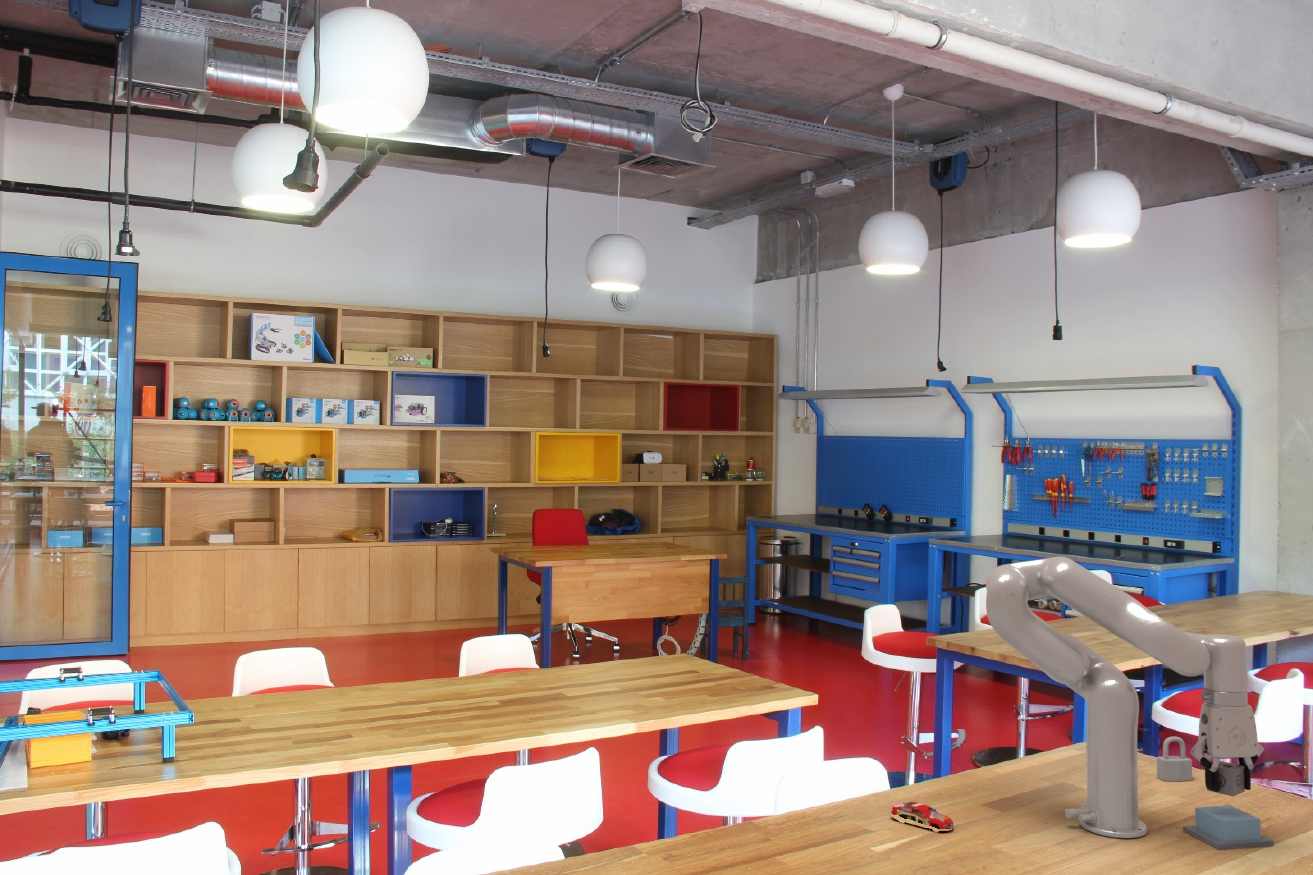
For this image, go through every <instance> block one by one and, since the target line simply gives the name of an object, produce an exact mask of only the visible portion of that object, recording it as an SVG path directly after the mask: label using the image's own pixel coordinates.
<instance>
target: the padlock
mask: <svg viewBox="0 0 1313 875" xmlns="http://www.w3.org/2000/svg"><path fill="white" fill-rule="evenodd" d="M1173 742H1177V743H1178V744H1179V753H1180V754H1179V756H1178V755H1169V746H1170V743H1173ZM1162 752H1163V753H1162V756H1156V777H1157V779H1160V780H1161V781H1164V782H1185V781H1186V782H1187V781H1189V782H1190V781H1192V780H1193V759H1191V758H1189V757H1187V756H1186V743H1185V741H1184V739H1183V738H1181V737H1179V736H1169V737H1167V738H1165V739H1164V741H1163V744H1162Z"/></svg>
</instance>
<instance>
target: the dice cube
mask: <svg viewBox="0 0 1313 875" xmlns="http://www.w3.org/2000/svg"><path fill="white" fill-rule="evenodd" d="M1216 771H1217V772H1219V779H1220V791H1219V792H1214V791H1212V790H1210V789H1207V788H1206V790H1207V791H1209V792H1212V793H1217V794H1221V795H1225V796H1230V797H1235V796H1238V795H1240V794H1243V793H1245V792H1246V789H1245V782H1244V766H1242V765H1239V764H1237V763H1232V762H1226V761H1224V760H1220V761H1219V764H1218V767H1217V770H1216Z"/></svg>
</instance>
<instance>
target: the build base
mask: <svg viewBox="0 0 1313 875" xmlns="http://www.w3.org/2000/svg"><path fill="white" fill-rule="evenodd" d="M1194 810H1195V811H1194V812H1195V815H1194V816H1195V817H1194V818H1195V819H1194V820H1195V822H1194V823H1195V824H1194V825H1183V826H1182V827H1183V828H1182V830H1183V831H1182V832H1183V833H1186V834H1188V835H1190V836H1191V837H1193V838H1194V839H1195V838H1196V839H1197V840H1199V841H1201V842H1203V843H1205V844H1206V845H1208V846H1211V847H1212V848H1214V849H1215V850H1218V851H1219V850H1221V851H1222V850H1233V849H1234V850H1235V849H1250V848H1263V847H1265V848H1266V847H1274V845H1275V844H1274V843H1275V842H1274V840H1273V839H1270V838H1268V837H1267V836H1265V835H1263V834H1261V818H1259V817H1257V816H1255V815H1253V814H1250V813H1249V812H1246V811H1244V810H1242V809H1240V808H1237V807H1236V806H1233V805H1232V804H1231V805H1230V804H1229V805H1216V806H1215V805H1213V806H1196V807H1195V808H1194Z"/></svg>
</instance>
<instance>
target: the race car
mask: <svg viewBox="0 0 1313 875" xmlns="http://www.w3.org/2000/svg"><path fill="white" fill-rule="evenodd" d="M891 807H892V808H891V811H890V813H892V814H893V815H899V816H900V817H902V818H904V819H910V820H913V821H915V822H918V823H921V824H925V825H929V826H932V827H935V828H937V829H951V828H953V829H954V821H953V819H952V817H951V818H950V816H947V815H946V814H943V813H941V812H938V811H937V809H936V808H933V807H932V806H930V805H928V804H925V803H922V802H917V801H916V802H915V801H907V802H898V803H896V804H893V806H891Z"/></svg>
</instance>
